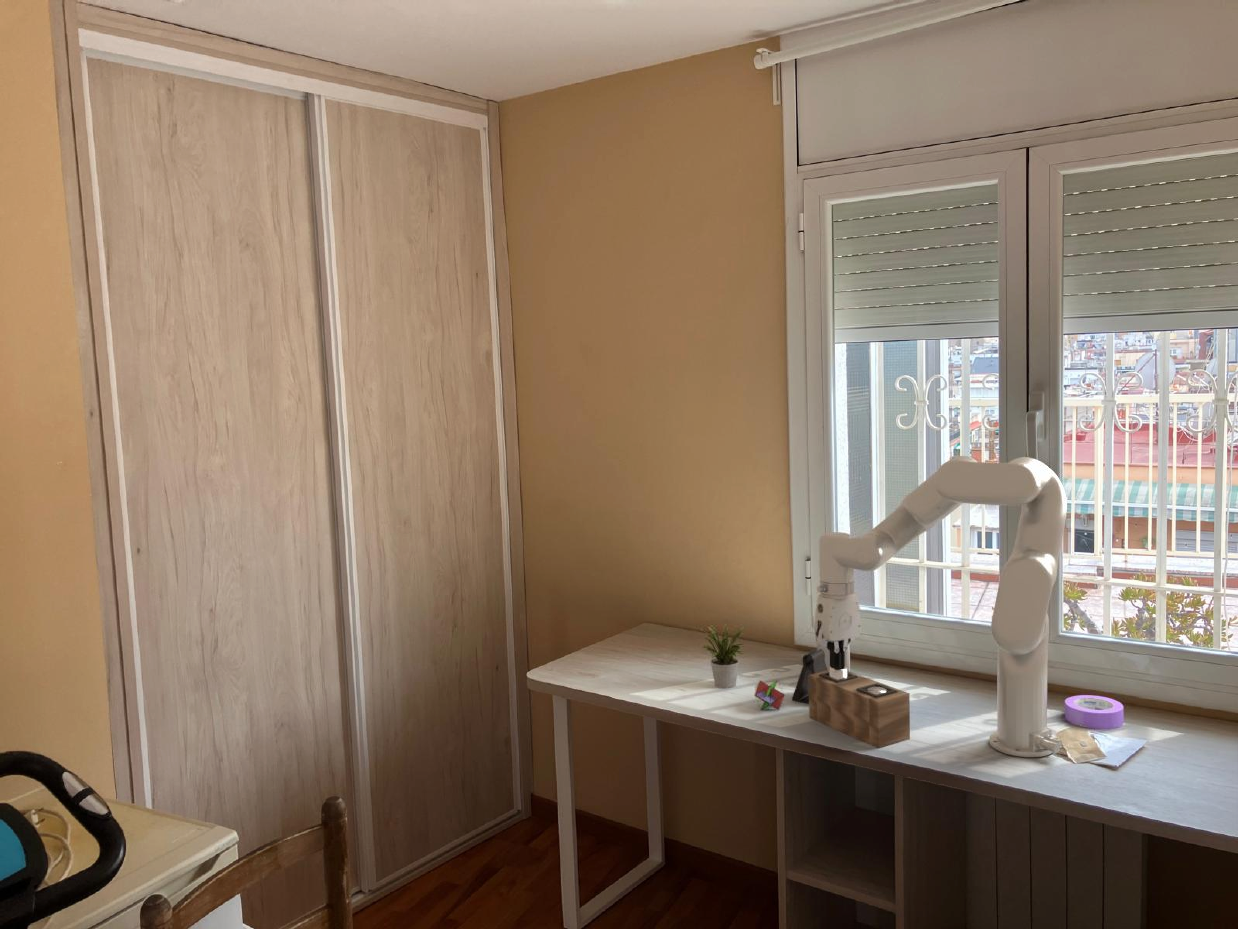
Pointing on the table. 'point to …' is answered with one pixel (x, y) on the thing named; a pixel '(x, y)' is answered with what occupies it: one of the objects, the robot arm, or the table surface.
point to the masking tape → (1094, 712)
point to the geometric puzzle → (769, 694)
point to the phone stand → (811, 665)
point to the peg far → (838, 673)
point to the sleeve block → (860, 708)
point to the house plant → (724, 658)
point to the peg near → (876, 690)
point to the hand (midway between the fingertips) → (837, 667)
